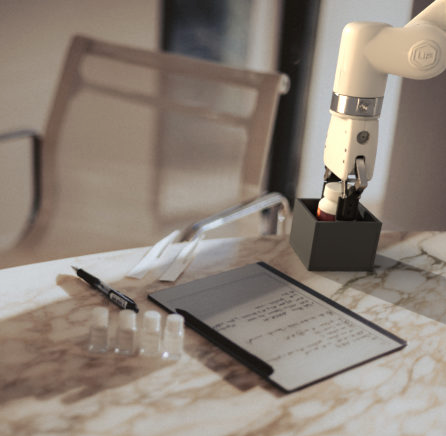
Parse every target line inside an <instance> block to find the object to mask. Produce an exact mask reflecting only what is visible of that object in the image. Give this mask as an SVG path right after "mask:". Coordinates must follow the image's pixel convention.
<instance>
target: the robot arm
mask: <svg viewBox="0 0 446 436" xmlns="http://www.w3.org/2000/svg"><path fill="white" fill-rule="evenodd" d="M445 71H446V0H434V1H433V2H432V3H431V4H429V5H428V6H427V7H425V8H424V9H423V10H422V11H421V12H419V13H418V14H417V15H416V16H414V17H413V18H412V19H411V20H409V22H407V24H405V25H404V26H403V27H397V26H393V25H392V24H391V23H386V22H380V21H370V20H369V21H368V20H367V21H365V20H357V21H351V22H349V23H347V24H346V25H345V26H344V28H343V29H342V33H341V37H340V43H339V50H338V57H337V62H336V69H335V76H334V82H333V86H332V87H333V88H332V94H331V101H330V107H329V111H328V112H329V114H331V115H330V116H331V117H330V121H329V125H328V128H327V133H326V138H325V144H324V150H323V163H324V170H325V172H324V175H323V184H322V190H321V196H320V198H321V199H323V198H324V197H325V196H324V190H325V186H326V184H327V183H331V182H340V183H341V197H338V203H337V208H336V214H335V219H336V220H337V221H355V219H356V214H357V209H358V204H359V202H360V199H362V194H363V193H364V191H365V190H366V188H367V187H368V186H369V182H370V181H372V179H373V177H374V173H375V172H374V171H375V167H376V160H377V152H378V145H379V144H378V143H379V129H380V128H379V127H380V123H379V122H380V120H379V119H380V118H381V115H382V108H383V103H384V98H385V93H386V87H387V82H388V77H389V75H392V76H398V77H402V78H406V79H410V80H416V81H420V80H422V81H423V80H429V79H432V78H435V77H437V76H439V75H440V74H442V73H443V72H445ZM349 176H354V178H352V177H351V178H349ZM351 183H353V186H350V188H349V189H348V184H351Z"/></svg>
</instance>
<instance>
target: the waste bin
mask: <svg viewBox="0 0 446 436" xmlns="http://www.w3.org/2000/svg"><path fill="white" fill-rule="evenodd" d="M320 200H321V197H318V198H317V197H315V198H314V197H295V199H294V204H293V205H294V207H293V212H292V219H291V225H290V232H289V238H288V239H289V240H288V243H289V245H290V246H291V248H292V250H293V251H294V253H295V255H296V256H297V257H298V259H299V260H300V261H301V263H302V264H303V266H304V267H305V268H306V270H307V271H309V272H310V271H311V272H312V271H313V272H373V271H374V266H375V261H376V257H377V253H378V252H377V251H378V246H379V241H380V237H381V233H382V227H383V222H382V221H381V220H380V219H378V218H377V217H376V216H375V215H374V214H373V213H372V212H371V211H370V210H369V209H368V208H367V207H366V206H364V204H362V202H360V201H359V204H358V209H357V214H356V219H355V222H352V221H318V220H317V219H316V217H317V211H318V206H319V202H320Z"/></svg>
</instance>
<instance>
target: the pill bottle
mask: <svg viewBox="0 0 446 436" xmlns="http://www.w3.org/2000/svg"><path fill="white" fill-rule="evenodd" d="M350 186H354V184H351V183H348V189H349V188H350ZM324 196H325V197H324V198H323V199H321V200H320V202H319V206H318V211H317V217H316V219H317V220H318V221H337V220H336V219H335V214H336V208H337V203H338V197H341V183H340V182H331V183H327V184H326V186H325V190H324ZM352 222H355V221H352Z"/></svg>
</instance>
